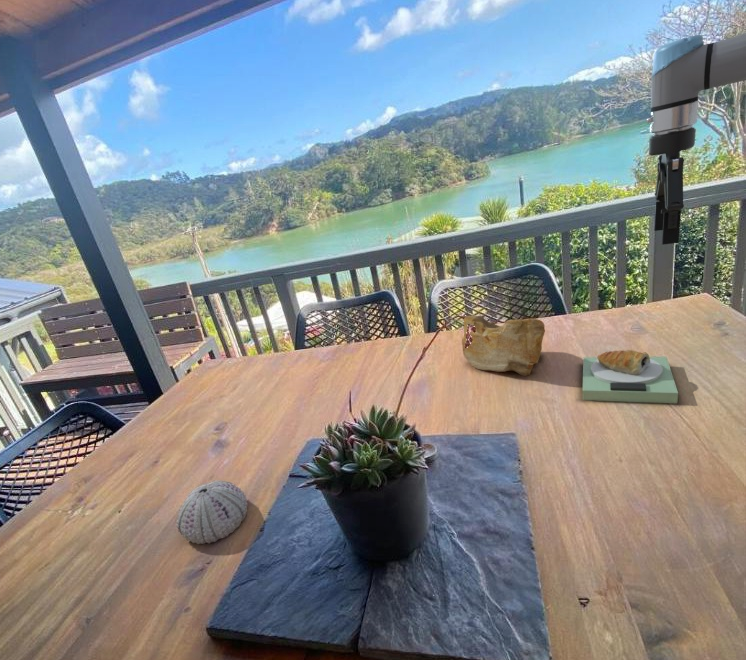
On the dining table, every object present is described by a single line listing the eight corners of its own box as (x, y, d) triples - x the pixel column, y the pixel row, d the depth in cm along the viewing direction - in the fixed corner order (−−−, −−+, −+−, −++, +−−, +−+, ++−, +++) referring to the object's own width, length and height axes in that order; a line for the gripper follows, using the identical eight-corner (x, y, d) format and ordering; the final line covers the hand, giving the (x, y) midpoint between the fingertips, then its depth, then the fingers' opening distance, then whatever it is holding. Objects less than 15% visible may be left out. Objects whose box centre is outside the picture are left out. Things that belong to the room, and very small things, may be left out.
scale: (665, 368, 97) (666, 353, 95) (677, 406, 84) (678, 389, 83) (583, 368, 105) (583, 354, 103) (582, 402, 92) (582, 387, 91)
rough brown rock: (575, 365, 108) (575, 307, 103) (533, 388, 101) (531, 326, 96) (498, 349, 127) (496, 300, 123) (458, 367, 120) (453, 315, 115)
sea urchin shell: (253, 491, 90) (241, 459, 87) (249, 539, 78) (235, 504, 75) (190, 508, 90) (176, 477, 87) (176, 560, 77) (159, 526, 74)
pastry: (591, 368, 97) (591, 352, 95) (605, 356, 100) (606, 341, 99) (639, 377, 89) (640, 360, 88) (653, 364, 93) (654, 347, 91)
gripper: (643, 133, 99) (640, 227, 107) (656, 138, 80) (651, 252, 88) (684, 124, 96) (678, 222, 104) (709, 127, 76) (698, 247, 84)
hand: (665, 236), depth 96 cm, fingers open, 13 cm apart
